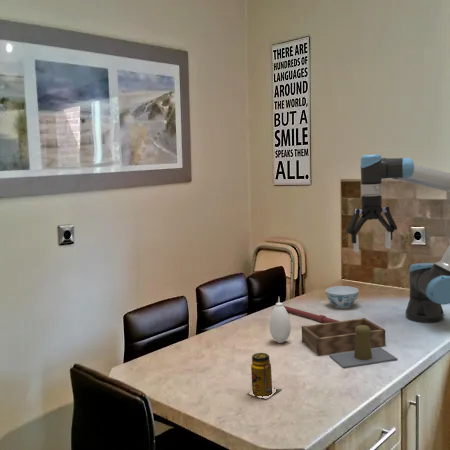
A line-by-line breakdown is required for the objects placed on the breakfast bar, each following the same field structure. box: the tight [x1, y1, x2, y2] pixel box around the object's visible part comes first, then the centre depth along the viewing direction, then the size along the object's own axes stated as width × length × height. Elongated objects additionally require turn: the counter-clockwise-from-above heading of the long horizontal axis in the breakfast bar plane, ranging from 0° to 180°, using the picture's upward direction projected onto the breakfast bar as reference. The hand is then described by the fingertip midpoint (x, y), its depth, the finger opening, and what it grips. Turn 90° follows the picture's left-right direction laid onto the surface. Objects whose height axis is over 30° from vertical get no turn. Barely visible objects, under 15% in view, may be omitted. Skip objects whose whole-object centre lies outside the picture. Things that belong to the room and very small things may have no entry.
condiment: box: [250, 352, 282, 397], centre depth 163 cm, size 7×8×12 cm
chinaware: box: [325, 285, 360, 309], centre depth 248 cm, size 15×15×8 cm
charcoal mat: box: [328, 347, 399, 369], centre depth 186 cm, size 20×11×1 cm, turn 103°
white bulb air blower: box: [269, 297, 292, 344], centre depth 205 cm, size 8×8×18 cm
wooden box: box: [301, 317, 387, 356], centre depth 201 cm, size 26×15×6 cm, turn 103°
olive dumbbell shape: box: [354, 325, 372, 360], centre depth 185 cm, size 6×6×11 cm
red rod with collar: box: [274, 304, 340, 324], centre depth 232 cm, size 45×3×3 cm, turn 38°
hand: (372, 249), depth 208 cm, fingers open, 13 cm apart
